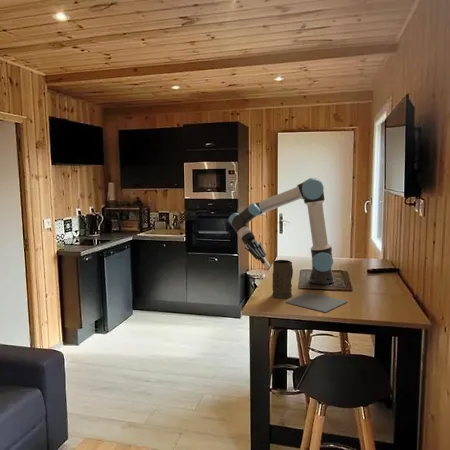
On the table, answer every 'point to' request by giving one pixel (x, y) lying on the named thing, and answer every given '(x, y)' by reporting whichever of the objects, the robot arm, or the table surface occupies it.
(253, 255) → the robot arm
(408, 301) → the table surface
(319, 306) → the mat
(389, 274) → the table surface
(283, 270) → the beer stein
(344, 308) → the table surface
